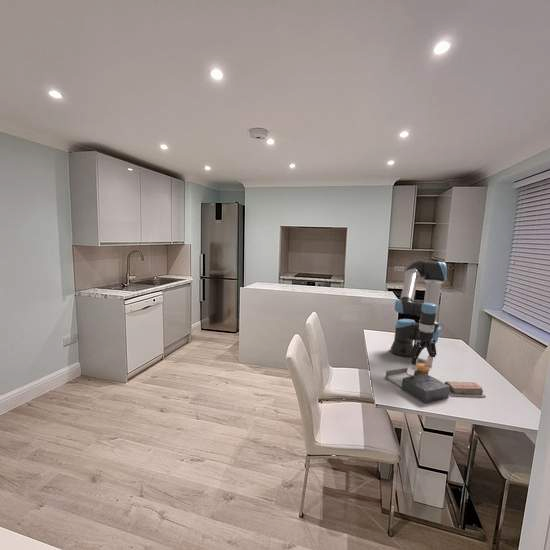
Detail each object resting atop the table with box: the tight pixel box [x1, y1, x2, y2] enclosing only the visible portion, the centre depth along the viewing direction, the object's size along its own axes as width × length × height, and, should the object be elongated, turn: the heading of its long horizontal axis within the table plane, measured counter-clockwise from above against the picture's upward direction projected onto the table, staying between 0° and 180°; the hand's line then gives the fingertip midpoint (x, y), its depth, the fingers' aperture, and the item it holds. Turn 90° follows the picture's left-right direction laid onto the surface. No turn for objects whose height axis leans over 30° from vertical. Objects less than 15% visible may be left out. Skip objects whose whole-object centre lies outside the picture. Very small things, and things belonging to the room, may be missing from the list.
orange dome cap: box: [417, 362, 431, 373], centre depth 167 cm, size 8×8×2 cm
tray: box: [385, 367, 413, 388], centre depth 160 cm, size 14×15×4 cm
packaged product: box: [444, 380, 487, 398], centre depth 153 cm, size 18×5×10 cm
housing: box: [401, 374, 450, 404], centre depth 149 cm, size 14×16×6 cm
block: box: [413, 370, 430, 376], centre depth 167 cm, size 5×5×5 cm
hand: (421, 368), depth 167 cm, fingers open, 11 cm apart
